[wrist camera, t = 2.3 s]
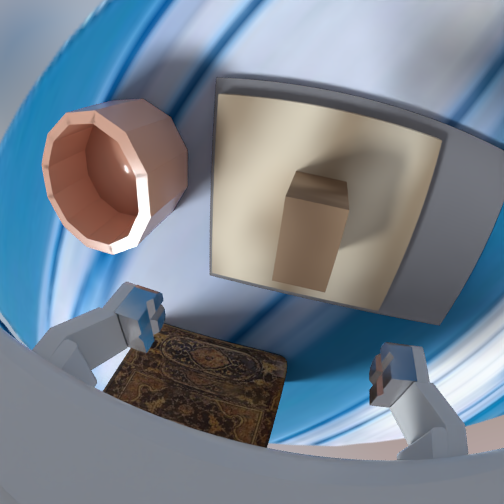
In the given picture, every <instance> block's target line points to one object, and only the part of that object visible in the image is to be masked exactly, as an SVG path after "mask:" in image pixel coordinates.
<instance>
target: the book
mask: <svg viewBox="0 0 504 504" xmlns="http://www.w3.org/2000/svg"><path fill="white" fill-rule="evenodd" d="M153 336H154V342H153V344H152V345H151V347H150V349H149V350H148V352H147V353H144V352H141V351H138V350H136V349H133V348H131V349H130V350H129V352H128V353H127V355H126V356H125V358H124V359H123V361H122V362H121V364H120V365H119V367H118V368H117V370H116V372H115V373H114V375H113V376H112V378H111V379H110V381H109V382H108V384H107V386H106V387H105V389H104V390H103V392H104V393H106V394H109V395H111V396H113V397H115V398H117V399H119V400H121V401H123V402H126V403H128V404H130V405H132V406H135V407H137V408H139V409H142V410H144V411H147V412H149V413H152V414H154V415H157V416H159V417H162V418H164V419H167V420H170V421H173V422H175V423H178V424H181V425H184V426H187V427H190V428H193V429H196V430H199V431H202V432H206V433H209V434H212V435H216V436H219V437H223V438H227V439H230V440H234V441H238V442H242V443H246V444H251V445H255V446H260V447H265V448H267V445H268V442H269V438H270V435H271V431H272V428H273V424H274V420H275V417H276V413H277V409H278V405H279V402H280V398H281V394H282V390H283V386H284V382H285V377H286V373H287V361H286V359H285V358H284V357H283V356H280V355H276V354H272V353H269V352H265V351H261V350H258V349H254V348H250V347H246V346H242V345H238V344H234V343H230V342H226V341H222V340H219V339H215V338H211V337H208V336H204V335H201V334H197V333H194V332H190V331H187V330H184V329H180V328H177V327H174V326H171V325H167V324H163V327H162V328H161V330H160V332H158V333H156V334H154V335H153Z"/></svg>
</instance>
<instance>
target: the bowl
mask: <svg viewBox="0 0 504 504" xmlns="http://www.w3.org/2000/svg"><path fill="white" fill-rule="evenodd" d="M187 166H188V150H187V148H186V146H185V144H184V142H183V140H182V139H181V137H180V135H179V133H178V131H177V129H176V127H175V125H174V123H173V121H172V119H171V117H170V116H168V115H167V114H165V113H164V112H162V111H161V110H159V109H158V108H156V107H155V106H153V105H152V104H150V103H149V102H147V101H146V100H144V99H125V100H113V101H109V102H104V103H100V104H96V105H92V106H89V107H85V108H81V109H78V110H74V111H71V112H68V113H66V114H65V115H64V116H63V117H62V118H61V119H60V120H59V122H58V123H57V124H56V125H55V126H54V127H53V128H52V130H51V131H50V132H49V133H48V135H47V140H46V144H45V149H44V155H43V160H42V169H43V175H44V180H45V186H46V191H47V196H48V198H49V200H50V202H51V204H52V206H53V208H54V210H55V211H56V213H57V215H58V217H59V218H60V220H61V222H62V224H63V225H64V227H65V228H66V229H68V230H69V231H70V232H71V233H72V234H73V235H74V236H75V237H76V238H78V239H79V240H80V241H81V242H82V243H83V244H84V245H86V246H87V247H89V248H92V249H96V250H99V251H102V252H105V253H109V254H112V255H114V254H117V253H119V252H122V251H125V250H127V249H130V248H132V247H135V246H137V245H138V244H139V243H140V242H141V241H142V240H143V239H144V238H145V237H146V236H147V235H149V234H150V233H151V232H152V231H153V230H154V229H155V228H156V227H157V226H158V225H159V224H160V223H161V222H162V221H163V220H164V219H165V218H166V217H167V216H169V215H170V214H171V213H172V212H173V210H174V208H175V207H176V205H177V203H178V201H179V200H180V198H181V196H182V195H183V193H184V191H185V190H186V188H187V187H188V181H187Z"/></svg>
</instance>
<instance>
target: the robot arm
mask: <svg viewBox="0 0 504 504" xmlns="http://www.w3.org/2000/svg"><path fill="white" fill-rule="evenodd" d="M162 302H163V295H162V293H160V292H157V291H154V290H151V289H148V288H145V287H142V286H139V285H135V284H132V283H129V282H125V283H123V284H122V285H121V286H120V288H119V289H118V290H117V291H116V292H115V294H114V295H113V296H112V297H111V298H110V299H109V301H108V302H107V303H106V304H105V306H104V307H103V308H100V307H99V308H97V309H94V310H92V311H89V312H87V313H85V314H82V315H80V316H78V317H75V318H73V319H70V320H68V321H66V322H63V323H61V324H59V325H56V326H54V327H52V328H50V329H49V330H48V331H47V333H46V334H45V335H44V336H43V337H42V339H41V340H40V341H39V342H38V344H37V345H36V346H35V347H34V349H33V350H31V349H29V348H28V347H26V346H25V345H23V344H22V343H20V342H19V341H18V340H16V339H15V338H14V337H12V336H11V335H10V334H8V333H7V332H6V331H4V330H3V329H2V328H0V504H504V448H502V449H497V450H492V451H487V452H482V453H476V454H470V455H468V446H467V437H466V429H465V425H464V423H463V422H462V420H461V419H460V418H459V416H458V415H457V414H456V412H455V411H454V410H453V408H452V407H451V406H450V404H449V403H448V402H447V401H446V399H445V398H444V397H443V395H442V394H441V393H440V391H439V390H438V389H437V388H436V386H435V385H434V384H433V383H430V381H429V375H428V370H427V364H426V359H425V354H424V350H423V348H422V347H419V346H411V345H410V346H409V345H404V344H396V343H389V342H385V343H384V344H383V345H382V347H381V348H380V351H381V354H379V355H377V356H375V358H374V360H373V361H372V364H371V367H370V372H369V380H370V382H371V383H372V384H373V386H372V387H371V389H370V405H372V406H381V407H390V408H389V409H390V410H391V412H392V414H393V416H394V418H395V420H396V422H397V424H398V426H399V427H400V429H401V431H402V433H403V435H404V437H405V439H406V441H407V443H408V445H409V446H408V447H406V448H405V449H404V450H402V451H401V452H399V453H398V454H397V460H395V461H384V460H383V461H382V460H381V461H380V460H354V459H341V458H330V457H320V456H311V455H304V454H298V453H291V452H286V451H280V450H275V449H270V448H265V447H260V446H255V445H251V444H246V443H242V442H238V441H234V440H230V439H227V438H223V437H219V436H216V435H212V434H209V433H206V432H202V431H199V430H196V429H193V428H190V427H187V426H184V425H181V424H178V423H175V422H173V421H170V420H167V419H164V418H162V417H159V416H157V415H154V414H152V413H149V412H147V411H144V410H142V409H139V408H137V407H135V406H132V405H130V404H128V403H126V402H123V401H121V400H119V399H117V398H115V397H113V396H111V395H109V394H106V393H104V392H102V391H100V390H98V389H96V388H95V385H96V384H97V380H96V378H95V376H94V375H93V373H92V371H91V370H92V369H94V368H96V367H97V366H99V365H100V364H102V363H104V362H105V361H107V360H109V359H110V358H112V357H113V356H115V355H117V354H118V353H120V352H121V351H123V350H125V349H126V348H127V347H130V348H133V349H136V350H138V351H141V352H144V353H147V352H148V350H149V349H150V347H151V345H152V344H153V342H154V336H153V335H154V334H156V333H158V332H160V330H161V328H162V327H163V324H164V321H165V309H164V307H163V306H162V305H161V303H162Z"/></svg>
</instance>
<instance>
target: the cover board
mask: <svg viewBox="0 0 504 504" xmlns="http://www.w3.org/2000/svg"><path fill="white" fill-rule="evenodd" d="M441 143H442V140H440V139H439V138H437V137H434V136H431V135H428V134H425V133H422V132H420V131H417V130H414V129H410V128H407V127H404V126H401V125H398V124H394V123H391V122H387V121H384V120H380V119H377V118H373V117H369V116H365V115H361V114H357V113H353V112H349V111H344V110H340V109H335V108H330V107H325V106H320V105H315V104H309V103H303V102H297V101H290V100H284V99H276V98H268V97H260V96H250V95H239V94H225V93H222V94H218V107H217V123H216V142H215V163H214V189H213V227H212V273H214V274H218V275H222V276H226V277H230V278H235V279H239V280H243V281H247V282H251V283H255V284H259V285H263V286H268V287H272V288H276V289H281V290H285V291H289V292H294V293H298V294H302V295H307V296H311V297H316V298H320V299H325V300H329V301H334V302H338V303H343V304H348V305H352V306H357V307H362V308H367V309H372V310H376V311H379V309H380V307H381V305H382V302H383V300H384V298H385V296H386V294H387V292H388V290H389V288H390V286H391V284H392V281H393V279H394V277H395V275H396V273H397V270H398V268H399V266H400V263H401V261H402V259H403V256H404V254H405V251H406V249H407V247H408V244H409V242H410V239H411V237H412V234H413V231H414V229H415V226H416V223H417V221H418V218H419V215H420V212H421V209H422V207H423V204H424V201H425V198H426V195H427V192H428V189H429V185H430V182H431V179H432V176H433V172H434V169H435V165H436V162H437V158H438V155H439V151H440V147H441Z"/></svg>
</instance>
